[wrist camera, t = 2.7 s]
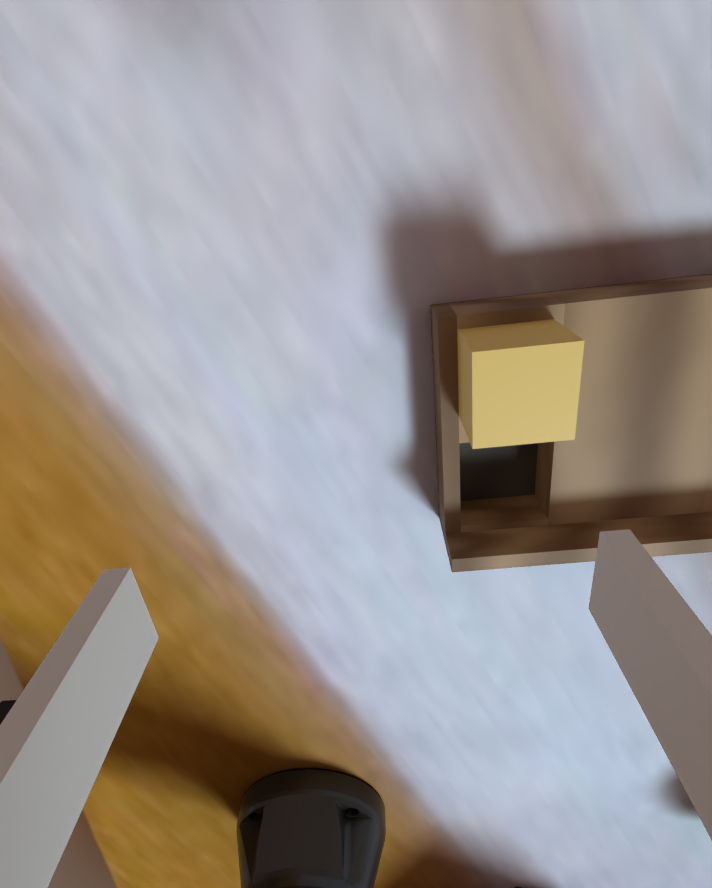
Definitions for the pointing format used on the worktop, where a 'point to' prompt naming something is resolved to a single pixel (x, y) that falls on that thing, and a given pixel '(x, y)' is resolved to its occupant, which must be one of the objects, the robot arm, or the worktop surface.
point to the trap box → (587, 431)
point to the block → (519, 383)
